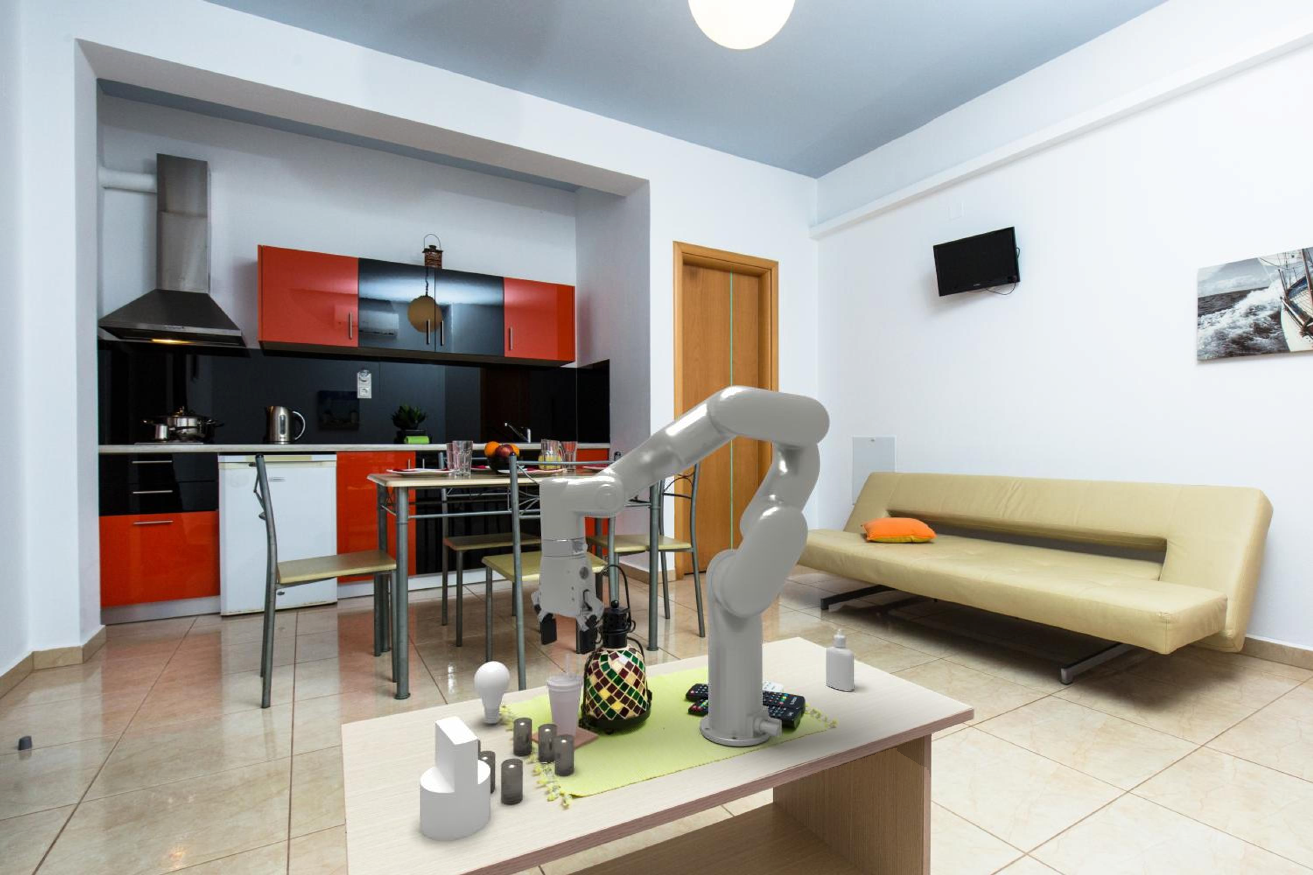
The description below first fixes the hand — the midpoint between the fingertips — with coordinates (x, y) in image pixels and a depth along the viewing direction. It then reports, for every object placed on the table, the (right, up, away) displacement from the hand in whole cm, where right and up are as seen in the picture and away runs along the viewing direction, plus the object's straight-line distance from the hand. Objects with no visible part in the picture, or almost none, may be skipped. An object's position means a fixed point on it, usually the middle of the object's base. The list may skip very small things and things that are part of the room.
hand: (568, 647), depth 109 cm
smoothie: (0, -15, -1) cm, 15 cm away
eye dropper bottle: (+53, -16, +23) cm, 60 cm away
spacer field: (-6, -15, -12) cm, 20 cm away
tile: (-1, -16, 0) cm, 15 cm away
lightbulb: (-15, -16, +6) cm, 22 cm away
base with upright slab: (-12, -15, -24) cm, 31 cm away
